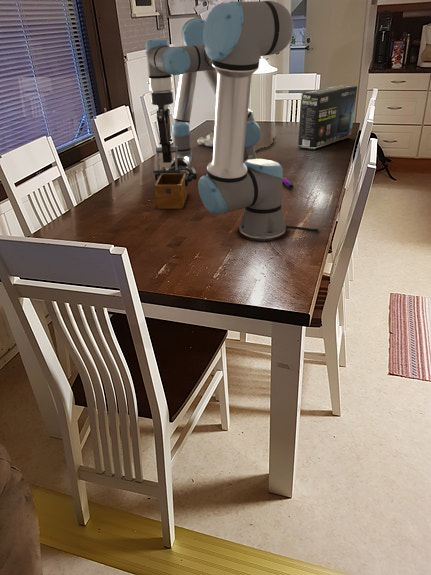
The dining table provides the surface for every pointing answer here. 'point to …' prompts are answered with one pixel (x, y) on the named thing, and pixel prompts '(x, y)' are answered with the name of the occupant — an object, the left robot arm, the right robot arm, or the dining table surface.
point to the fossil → (207, 139)
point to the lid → (174, 150)
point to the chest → (171, 191)
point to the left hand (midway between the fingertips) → (172, 183)
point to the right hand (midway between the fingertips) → (167, 161)
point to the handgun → (287, 183)
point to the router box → (326, 115)
